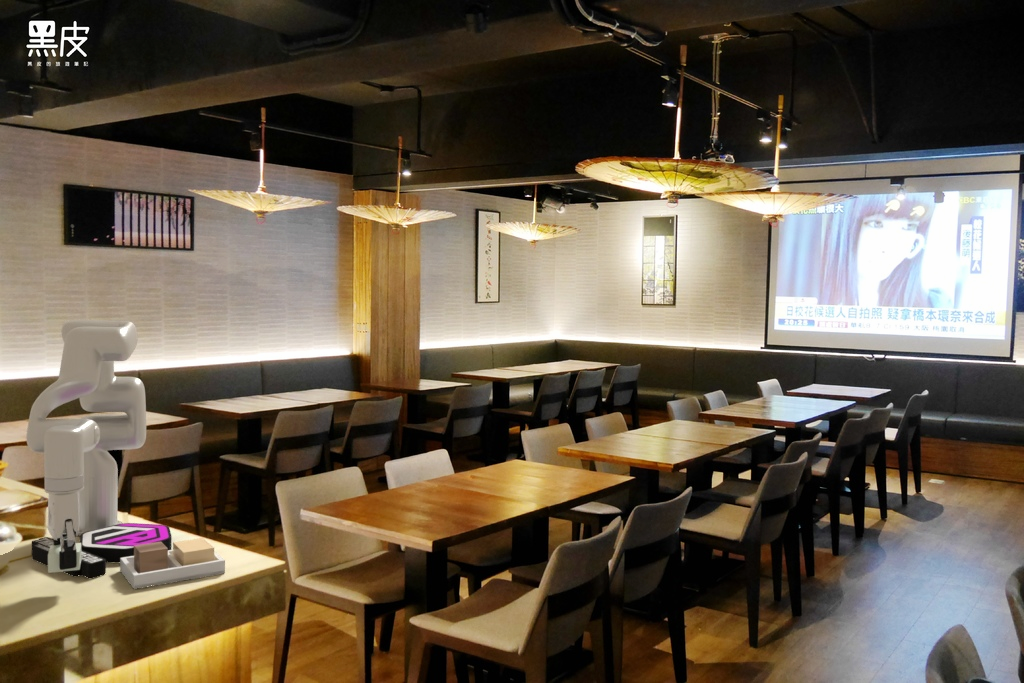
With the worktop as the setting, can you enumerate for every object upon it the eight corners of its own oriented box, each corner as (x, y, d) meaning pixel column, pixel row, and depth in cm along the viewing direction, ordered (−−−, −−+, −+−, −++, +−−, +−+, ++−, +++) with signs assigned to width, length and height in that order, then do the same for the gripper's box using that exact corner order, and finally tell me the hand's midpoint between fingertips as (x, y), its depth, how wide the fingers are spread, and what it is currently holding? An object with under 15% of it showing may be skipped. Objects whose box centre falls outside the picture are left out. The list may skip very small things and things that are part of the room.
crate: (120, 571, 195) (120, 547, 195) (206, 556, 207) (206, 534, 207) (134, 589, 184) (134, 564, 184) (224, 573, 196) (225, 549, 196)
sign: (83, 582, 189) (198, 550, 214) (83, 566, 188) (198, 535, 213) (23, 557, 204) (136, 530, 229) (23, 542, 203) (136, 516, 228)
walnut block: (133, 570, 194) (134, 545, 193) (161, 566, 197) (161, 541, 197) (140, 578, 189) (140, 552, 189) (167, 573, 193) (167, 548, 192)
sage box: (50, 563, 183) (50, 545, 182) (81, 560, 185) (81, 542, 185) (48, 572, 177) (47, 554, 177) (79, 569, 180) (79, 551, 179)
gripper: (38, 475, 184) (39, 553, 186) (51, 495, 170) (51, 579, 172) (76, 471, 188) (76, 547, 190) (91, 490, 175) (91, 572, 176)
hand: (65, 562), depth 181 cm, fingers closed on sage box, 6 cm apart
